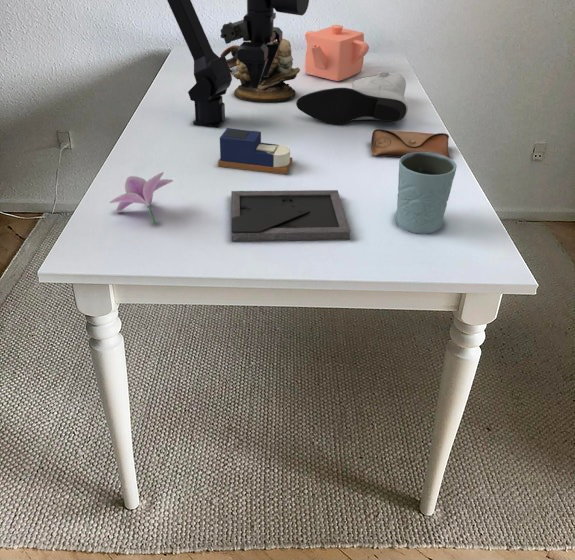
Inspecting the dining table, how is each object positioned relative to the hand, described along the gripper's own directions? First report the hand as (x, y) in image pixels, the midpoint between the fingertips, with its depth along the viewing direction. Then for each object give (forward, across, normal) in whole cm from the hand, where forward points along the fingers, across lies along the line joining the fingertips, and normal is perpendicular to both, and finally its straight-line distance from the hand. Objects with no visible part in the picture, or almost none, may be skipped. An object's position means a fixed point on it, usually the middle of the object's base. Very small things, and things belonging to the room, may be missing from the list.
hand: (260, 81), depth 142 cm
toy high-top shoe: (+12, +17, +3) cm, 21 cm away
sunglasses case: (+13, +1, +36) cm, 38 cm away
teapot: (+13, -50, +9) cm, 52 cm away
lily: (+13, +44, -11) cm, 47 cm away
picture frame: (+13, +38, +15) cm, 43 cm away
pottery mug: (+13, -47, -19) cm, 52 cm away
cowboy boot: (+13, -23, +20) cm, 33 cm away
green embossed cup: (+13, +33, +39) cm, 53 cm away
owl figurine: (+13, -27, -5) cm, 30 cm away
